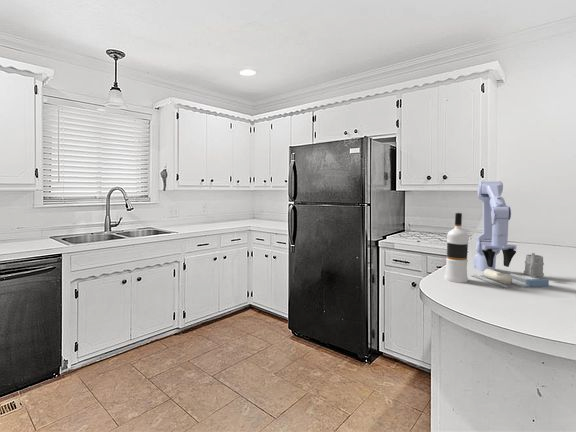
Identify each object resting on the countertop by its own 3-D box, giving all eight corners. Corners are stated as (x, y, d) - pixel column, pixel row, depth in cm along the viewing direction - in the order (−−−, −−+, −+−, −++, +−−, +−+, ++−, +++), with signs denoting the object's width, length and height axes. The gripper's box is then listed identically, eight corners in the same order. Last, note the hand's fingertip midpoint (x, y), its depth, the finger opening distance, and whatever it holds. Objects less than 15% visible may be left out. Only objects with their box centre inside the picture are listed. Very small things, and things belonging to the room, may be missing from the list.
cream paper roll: (483, 278, 154) (483, 269, 154) (491, 277, 154) (491, 268, 154) (503, 285, 142) (503, 275, 142) (512, 284, 143) (512, 274, 142)
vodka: (439, 280, 153) (441, 212, 151) (455, 278, 156) (458, 212, 154) (456, 285, 144) (459, 213, 142) (472, 283, 147) (476, 213, 145)
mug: (544, 276, 160) (546, 251, 159) (541, 281, 151) (543, 254, 150) (524, 274, 165) (526, 249, 164) (521, 278, 156) (522, 252, 155)
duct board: (470, 277, 157) (470, 270, 157) (513, 276, 160) (514, 269, 160) (503, 290, 138) (503, 281, 137) (552, 288, 141) (552, 280, 140)
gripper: (490, 236, 142) (489, 269, 143) (522, 235, 144) (521, 268, 145) (479, 234, 149) (477, 265, 150) (509, 233, 151) (508, 264, 152)
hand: (498, 266), depth 148 cm, fingers open, 7 cm apart
